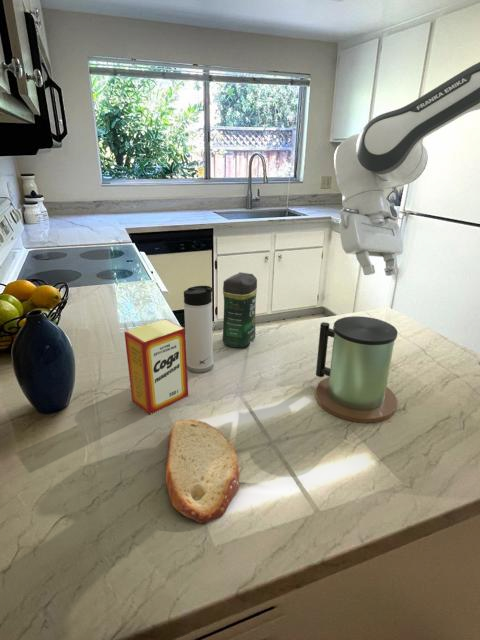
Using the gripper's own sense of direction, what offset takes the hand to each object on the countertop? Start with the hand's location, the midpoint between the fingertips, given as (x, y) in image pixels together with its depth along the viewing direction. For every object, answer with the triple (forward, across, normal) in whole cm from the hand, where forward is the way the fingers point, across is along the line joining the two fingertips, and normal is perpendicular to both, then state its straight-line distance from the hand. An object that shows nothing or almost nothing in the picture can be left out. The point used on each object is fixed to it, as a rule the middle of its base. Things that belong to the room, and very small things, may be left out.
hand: (381, 274), depth 84 cm
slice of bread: (+28, -42, +18) cm, 53 cm away
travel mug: (+12, -21, +39) cm, 46 cm away
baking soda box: (+17, -35, +36) cm, 53 cm away
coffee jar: (+7, -5, +41) cm, 42 cm away
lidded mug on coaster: (+24, -8, +8) cm, 26 cm away
